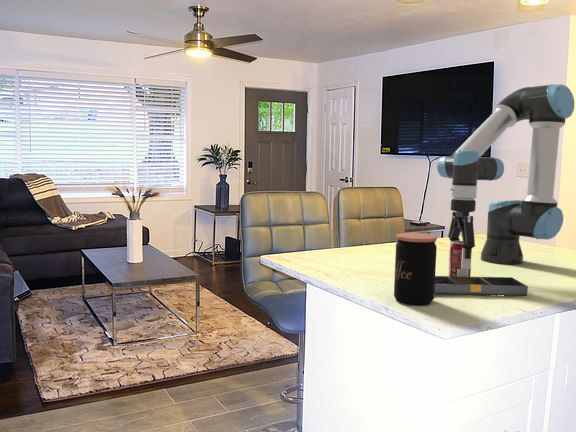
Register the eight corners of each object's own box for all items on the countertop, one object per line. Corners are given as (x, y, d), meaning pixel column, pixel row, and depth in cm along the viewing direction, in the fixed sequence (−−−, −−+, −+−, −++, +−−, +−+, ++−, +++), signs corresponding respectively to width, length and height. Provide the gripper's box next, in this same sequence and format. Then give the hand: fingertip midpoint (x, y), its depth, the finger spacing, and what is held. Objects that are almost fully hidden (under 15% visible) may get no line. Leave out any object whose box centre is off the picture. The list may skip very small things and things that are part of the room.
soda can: (471, 281, 176) (473, 244, 174) (449, 280, 177) (451, 243, 176) (468, 277, 182) (470, 241, 181) (447, 275, 184) (449, 240, 182)
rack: (511, 287, 169) (512, 276, 169) (527, 297, 158) (528, 286, 157) (413, 285, 170) (414, 274, 169) (422, 294, 158) (423, 283, 157)
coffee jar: (389, 296, 156) (391, 232, 154) (426, 296, 157) (429, 232, 155) (400, 306, 145) (402, 238, 143) (439, 306, 146) (443, 238, 144)
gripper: (441, 195, 189) (437, 257, 191) (463, 201, 164) (459, 272, 167) (463, 196, 189) (459, 257, 191) (489, 202, 164) (484, 272, 167)
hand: (459, 264), depth 179 cm, fingers open, 13 cm apart
